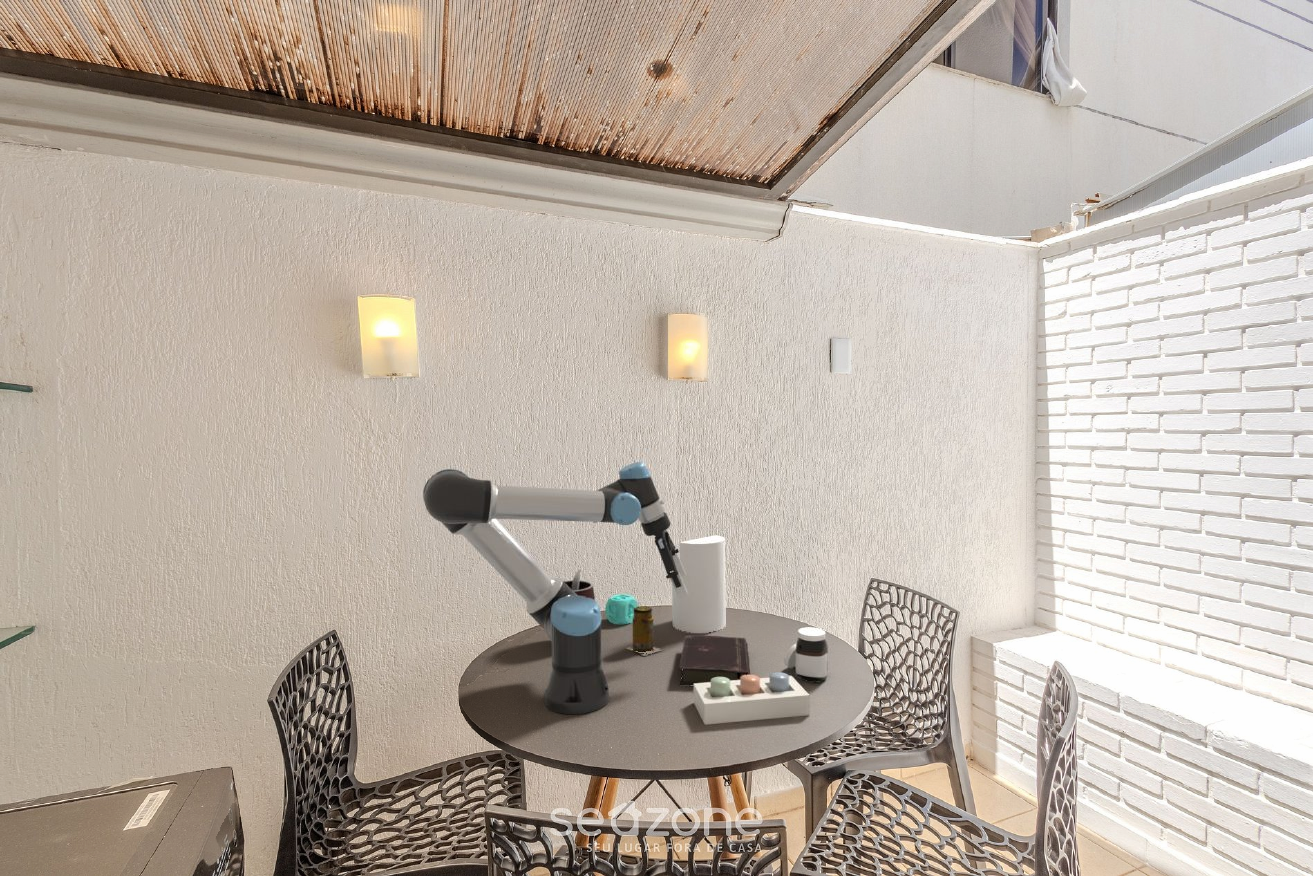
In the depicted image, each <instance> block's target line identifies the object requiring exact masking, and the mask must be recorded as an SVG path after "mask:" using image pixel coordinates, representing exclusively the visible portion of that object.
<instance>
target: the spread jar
mask: <svg viewBox="0 0 1313 876" xmlns="http://www.w3.org/2000/svg"><path fill="white" fill-rule="evenodd" d="M797 637H798V638H797V640H796V643H794V644H793V645H791V646H790V648H789V649H788V651H786V654H785V655H784V662H783V663H784V665H785V666H787V668H789V669H794V668H793V667H795V674H796V676H797V677H798V678H799V679H801V680H803V681H805V680H807V681H806V682H810V681H813V682H812V683H816V682H817V681H820V682H823V681H825V680H826V679H827V677H828V672H829V671H828V668H829V657H828V655H829V649H828V647H829V645H828V642H827V640H826V631H825V630H823V629H822V628H818V627H811V626H810V627H808V626H807V627H801V628H799V629H798V630H797Z"/></svg>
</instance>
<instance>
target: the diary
mask: <svg viewBox="0 0 1313 876" xmlns="http://www.w3.org/2000/svg"><path fill="white" fill-rule="evenodd" d="M748 647H749V646H748V642H747V639H746V638H745V637H736V636H734V637H730V636H720V635H705V634H703V635H700V634H699V635H686V636H685V637H684V642H683V646H682V651H681V656H680V662H679V665H678V669H679V670H682V669H683V671H682V673H681V677H682V676H683V677H682V679H681V678H680V679H681V681H680V680H679V683H680V684H679V683H678V684H679V685H689V686H688V687H691V686H690V685H694V683H707V682H711V679H712V678H714V677H725V678H728V679H729V680H730V681H732V680H740V677H741V676H743V675H746V674H747V675H752V674H751V668H750V656H749V649H748ZM679 685H678V686H679Z"/></svg>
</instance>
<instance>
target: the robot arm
mask: <svg viewBox="0 0 1313 876" xmlns="http://www.w3.org/2000/svg"><path fill="white" fill-rule="evenodd" d="M618 475H619V478H618V479H617V480H615V481H614V482H612V483H609V484H607V485H606V486H602V487H601V488H599V489H597V490H590V489H589V490H587V489H586V490H585V489H570V488H569V489H568V488H555V487H553V488H549V487H534V486H533V487H531V486H517V485H516V486H512V485H497V484H495V482H493V481H492V480H489V479H487V480H486V479H477V478H473V477H469V476H468V475H467V474H466V473H464V472H462V471H461V470H459V469H455V468H454V469H453V468H448V469H441V470H440V471H438V472H436V473H435V474H433V475H431V477H429V478H428V480H427V481H426V482H425V484H424V487H423V492H422V497H423V502H424V505H425V509H426V511H427V512H428V514H429V515H430V516H431V517H432V518H433V519H434V520H436V521H438V522H439V523H441V524H442V525H443V526H444V527H445V528H446V529H447V530H448V531H449V532H450V533H451V534H452V535H460V536H463V537H464V538H465V540H466V541H468V543H470V545H471V546H472V547H473V548H474V549H475V550H476V551H477V552H478V553H479V555H481V556H482V557H483V558H484V559H485V560H486V561H487V562H488V563H489V564H490V565H491V566H492V568H493V569H494V570H495V571H496V572H497V573H498V574H499V575H500V576H501V577H502V578H503V579H504V580H505V581H506V582H507V583H508V584H509V586H511V587H512V588H513V590H514V591H515V592H516V593H517V594H518V595H519V596H520V597H521V599H523V600H524V601H525V602H526V612H527V613H528V614H529V616H530V617H532V619H533V620H534V621H535V622H537V624H538V625H539V626H540V627H541V628H542V629H543V630H544V631H545V632H546V634H547V636H548V638H549V639H550V641H551V672H550V675H549V679H548V683H547V687H546V690H545V692H544V704H545V706H546V708H548V709H549V710H550V711H552V712H555V713H559V714H564V715H579V714H587V713H588V714H589V713H591V712H594V711H598V710H599V709H601V708H604V707H605V706H606V705H607V704H608V702H609V701H610V687H609V685H608V681H607V678H606V676H605V673H604V670H603V666H602V619H603V618H602V613H601V607H600V604H599V603H598V602H597V601H596V600H594V599H592V598H586V597H585V596H578V595H577V594H576V593H575V592H573V591H572V590H571V589H570V588H569V586H568V585H567V584H566V583H565V582H564V581H565V580H563V579H562V578H560V577H552V576H551V574H549V573H548V572H547V571H546V570H545V568H544V567H543V566H542V565H541V564H540V563H539V562H538V561H537V559H535V558H534V557H533V556H532V555H531V553H530V552H529V551H528V550H527V549H526V547H524V546H523V545H522V544H521V542H520V541H519V540H518V539H517V538H516V537H515V536H514V535H513V534H512V533H511V532H510V530H508V528H506V526H505V525H504V524H503V523H502V522H501V521H500V520H518V521H519V520H522V521H523V520H524V521H526V520H527V521H554V522H555V521H557V522H558V521H559V522H560V521H561V522H564V521H565V522H588V523H589V522H590V523H595V524H596V523H610V524H611V523H613V524H617V525H621V526H629V525H632V524H634V523H635V522H637V521H639V522H640V525H641V526H640V527H641V528H642V530H643V533H644V534H645V536H648V537H652V536H654V544H655V546H656V548H657V550H658V553H659V555H660V558H661V561H662V563H663V564H662V565H663V567H664V569H665V571H666V575H665V578H666V579H670V582H671V585H672V584H673V587H674V589H675V591H676V594H677V596H678V598H682V597H684V596H687V595H688V592H687V590H686V588H685V585H684V583H683V581H682V579H681V577H682V576H684V575H686V573H685V571H684V568H683V566H682V564H681V561H680V556H679V555H678V554H680V549H678V548H676V546H675V544H674V542H673V540H672V538H671V537H670V533H669V532H668V529H669V528H670V527H671V525H672V524H671V521H670V519H669V517H668V516H669V515H668V514H667V513H666V512H665V511H666V509H665V507H664V504H665V501H664V500H661V498H660V496H659V494H658V491H657V489H656V486H655V483H654V481H653V478H652V475H651V474H650V472H649V470H648V467H647V466H646V464H645V463H644V462H642V461H636V462H633V463H630V464H628V465H625V466H624V467H622V468H621V469H620V470H619V471H618Z"/></svg>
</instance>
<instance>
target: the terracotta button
mask: <svg viewBox="0 0 1313 876" xmlns="http://www.w3.org/2000/svg"><path fill="white" fill-rule="evenodd" d="M760 678H761V677H759V676H757V675H754V674H751V675H746V674H745V675H743V676H741V677H740V693H741V694H742V695H750V694H760Z"/></svg>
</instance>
